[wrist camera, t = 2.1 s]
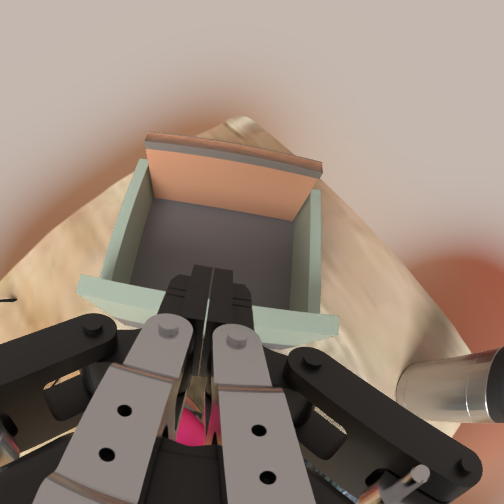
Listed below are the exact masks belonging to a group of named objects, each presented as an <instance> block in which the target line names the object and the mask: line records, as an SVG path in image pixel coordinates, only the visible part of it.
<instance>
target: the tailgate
mask: <svg viewBox="0 0 504 504" xmlns="http://www.w3.org/2000/svg"><path fill="white" fill-rule="evenodd" d="M144 143H145V149H146V152H147V158H148V164H149V170H150V175H151V180H152V186H153V191H154V196H155V198H160V199H166V200H173V201H179V202H186V203H192V204H198V205H204V206H210V207H216V208H222V209H228V210H234V211H240V212H245V213H251V214H256V215H262V216H267V217H273V218H278V219H283V220H288V221H293V220H294V218H295V216H296V215H297V213H298V212H299V210H300V208H301V207H302V205H303V203H304V202H305V200H306V199H307V197H308V195H309V194H310V192H311V190H312V189H313V187H314V186H315V184H316V182H317V181H318V179H319V178H320V177H321V175H322V173H323V170H322V162H319V161H315V160H311V159H307V158H303V157H299V156H295V155H290V154H286V153H282V152H277V151H272V150H267V149H263V148H258V147H253V146H247V145H242V144H236V143H231V142H225V141H219V140H212V139H206V138H199V137H192V136H183V135H176V134H168V133H159V132H149V133H148V135H147V137H146V139H145V141H144Z"/></svg>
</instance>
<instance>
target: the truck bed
mask: <svg viewBox="0 0 504 504" xmlns="http://www.w3.org/2000/svg"><path fill="white" fill-rule="evenodd" d="M194 264H197V265H203V266H209V267H213V270H212V276H211V283H210V289H209V296H208V303H207V310H206V317H205V323H204V330H203V338H202V340H204V336H205V328H206V321H207V314H208V307H209V300H210V293H211V287H212V280H213V274H214V268H215V267H216V268H222V269H228V270H233V283H237V284H244V285H245V286H246V287H247V288H248V289H249V291H250V292H251V299H252V301H251V302H252V310H253V320H254V330H255V332H256V333H257V334H258V335H259V337H260V339H261V342H262V345H263V346H264V347H266V348H271V349H281V350H282V349H286V348H291V347H295V346H299V345H303V344H307V343H311V342H314V341H318V340H322V339H325V338H329V337H333V336H336V335H338V330H339V316H335V315H325V314H320V295H321V190H317V189H312V190H311V192H310V194H309V195H308V197H307V199H306V200H305V202H304V203H303V205H302V207H301V208H300V210H299V212H298V213H297V215H296V216H295V218H294V220H293V221H288V220H283V219H278V218H273V217H267V216H262V215H256V214H251V213H245V212H240V211H234V210H228V209H222V208H216V207H210V206H204V205H198V204H192V203H186V202H179V201H173V200H166V199H160V198H155V196H154V191H153V186H152V180H151V175H150V170H149V164H148V160H147V159H140V160H139V162H138V164H137V167H136V169H135V172H134V174H133V177H132V179H131V182H130V184H129V187H128V190H127V192H126V195H125V198H124V201H123V203H122V206H121V209H120V212H119V215H118V218H117V221H116V224H115V227H114V230H113V233H112V236H111V239H110V243H109V246H108V249H107V253H106V256H105V260H104V263H103V267H102V271H101V275H100V278H96V277H91V276H87V275H83V274H81V276H80V280H79V284H78V287H77V291H76V293H77V294H78V295H80V296H81V297H83V298H84V299H86V300H87V301H89V302H90V303H92V304H93V305H95V306H96V307H98V308H99V309H101V310H102V311H104V312H105V313H107V314H108V315H110V316H112V317H113V318H115V319H116V320H118V321H120V322H121V323H123V324H125V325H128V326H132V327H137V328H143V326H144V324H145V322H146V321H147V320H148V319H149V318H150V317H152V316H154V315H157V313H158V310H159V308H160V305H161V303H162V300H163V298H164V295H165V293H166V290H167V288H168V285H169V283H170V281H171V279H172V278H174V277H175V276H177V275H178V274H181V275H187V276H191V274H192V270H193V267H194Z"/></svg>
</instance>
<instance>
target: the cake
mask: <svg viewBox="0 0 504 504" xmlns="http://www.w3.org/2000/svg"><path fill="white" fill-rule="evenodd" d="M176 442H178V443H181V444H184V445H187V446H202V445H204V415H203V414H202V412H201V411H200V409H199V407H198V406H197V405H196V404H195V403H193V401H192V400H191V399H190V398H188V397H187V396H186V400H185V404H184V408H183V412H182V416H181V420H180V424H179V428H178V432H177V437H176Z"/></svg>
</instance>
